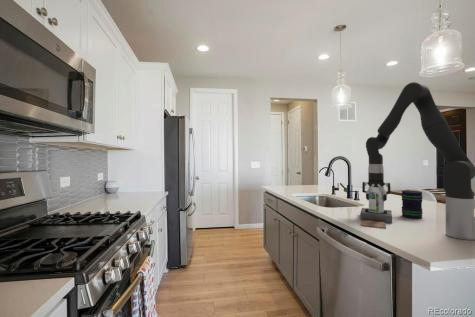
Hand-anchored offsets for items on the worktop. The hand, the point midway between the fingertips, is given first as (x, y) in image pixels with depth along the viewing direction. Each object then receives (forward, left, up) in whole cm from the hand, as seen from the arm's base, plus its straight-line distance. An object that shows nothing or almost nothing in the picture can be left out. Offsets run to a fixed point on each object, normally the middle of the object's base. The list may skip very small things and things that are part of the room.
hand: (376, 200), depth 137 cm
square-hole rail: (0, 0, -10) cm, 10 cm away
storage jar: (-18, -14, -10) cm, 25 cm away
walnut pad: (+1, +15, -10) cm, 18 cm away
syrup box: (0, 0, -7) cm, 7 cm away
